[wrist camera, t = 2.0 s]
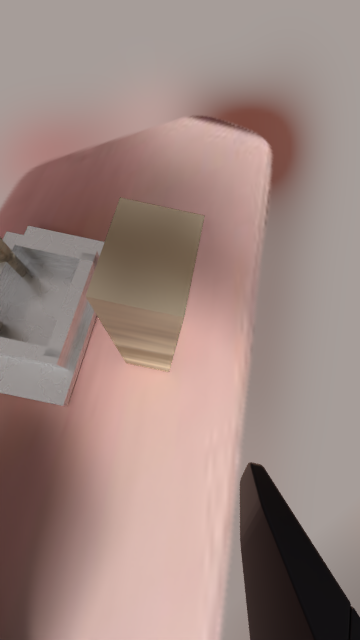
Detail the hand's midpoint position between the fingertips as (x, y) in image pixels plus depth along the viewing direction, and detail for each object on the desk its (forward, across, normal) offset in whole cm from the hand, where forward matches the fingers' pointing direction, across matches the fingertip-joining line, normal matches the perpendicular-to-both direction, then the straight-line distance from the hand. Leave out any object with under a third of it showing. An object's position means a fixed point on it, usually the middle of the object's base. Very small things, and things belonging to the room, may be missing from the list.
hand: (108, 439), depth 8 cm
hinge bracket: (+14, +10, +4) cm, 17 cm away
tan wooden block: (+13, 0, +4) cm, 14 cm away
